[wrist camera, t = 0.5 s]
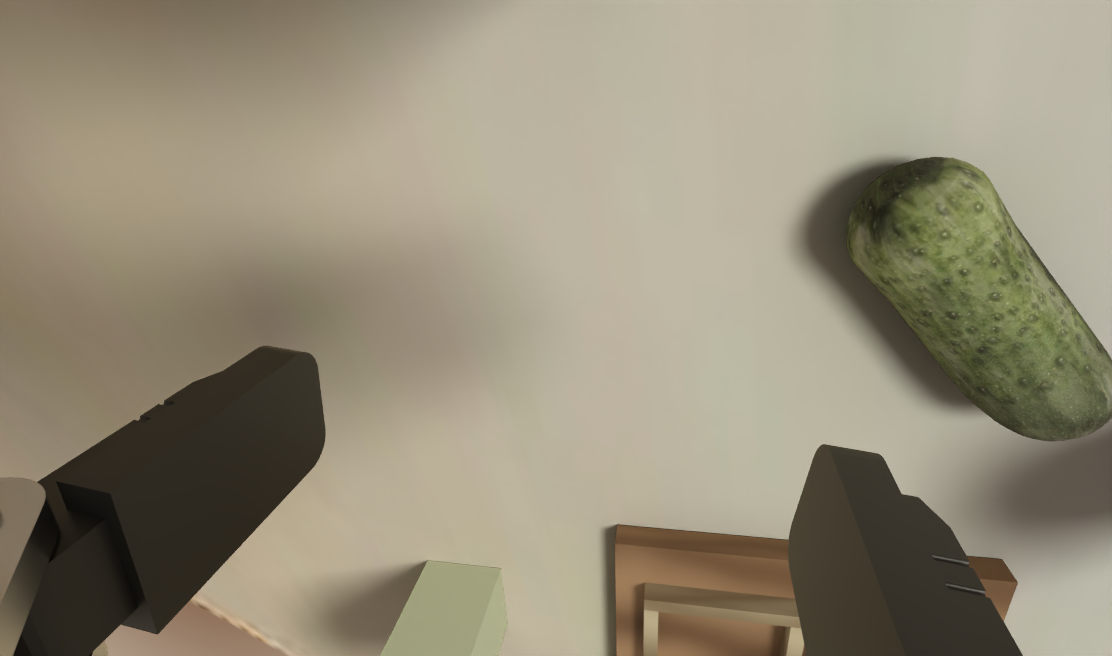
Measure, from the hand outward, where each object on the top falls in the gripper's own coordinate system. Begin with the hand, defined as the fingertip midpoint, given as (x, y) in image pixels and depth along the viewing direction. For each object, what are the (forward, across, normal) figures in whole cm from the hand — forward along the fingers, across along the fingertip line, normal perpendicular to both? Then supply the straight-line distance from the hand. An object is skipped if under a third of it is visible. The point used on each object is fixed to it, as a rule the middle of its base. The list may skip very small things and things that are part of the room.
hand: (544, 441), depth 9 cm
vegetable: (+20, -14, +2) cm, 24 cm away
